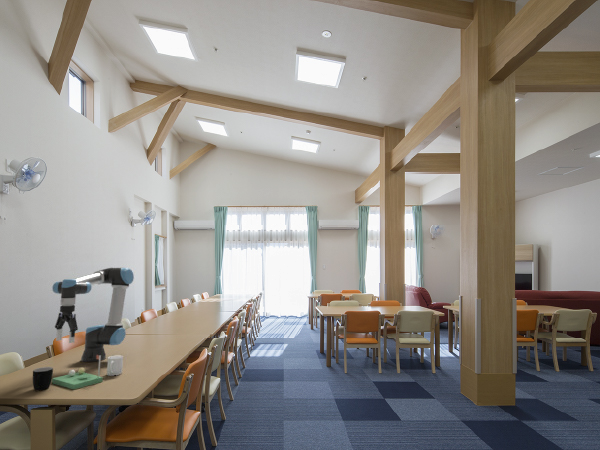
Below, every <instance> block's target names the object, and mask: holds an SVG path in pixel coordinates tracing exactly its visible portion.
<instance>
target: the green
mask: <svg viewBox="0 0 600 450" xmlns="http://www.w3.org/2000/svg"><path fill="white" fill-rule="evenodd" d="M100 357H101V356H98V355H97V358H96V359H99V361H98V371H97V373H98V374H97V375H96V374H91V373H88V372H84V373H83V374H79V373H78V371H77V372H75V375H74V376H69V374H66V375H61V376H57V377H52V380H51V384H54V385H57V386H61V387H64V388H68V389H69V390H70V389H71V390H73V391H74V390H77V389H81V388H84V387H87V386H92V385H95V384H99V383H103V380H104V379H103V378H104V377H103V376H100V373H101V360H100Z"/></svg>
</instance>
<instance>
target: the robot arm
mask: <svg viewBox="0 0 600 450" xmlns="http://www.w3.org/2000/svg"><path fill="white" fill-rule="evenodd" d="M134 276H135V275H134V272H133V271H132V269H130V268H129V267H107V268H104V269H99V270H97V271H94V272H93V273H91V274H88V275H84V276H79V277H76V278H71V279H70V278H68V279H67V278H66V279H63V280H62V281H61V280H60V281H56V282H54V283H53V285H52V291H53V293H55V294H57V295H60V306H59V307H60V308H59V312H58V316H57V320H56V322H55V325H54V328H55V329H56V338H55V339H56V342H57V341H62V340H63V327H64V325H65V323H67V324H68V327H69V335H68V336H69V338H68V344H71V343H73V344H74V343H75V339H76V331H78V330H79V328H78V323H77V319H76V318H77V317H76V315H77V314H76V313H73V312H75V310H76V297H77V295H86V294H89V293H90V292H91V290H92V288H93V287H92V286H95V285H101V284H105V285H106V284H110V285H111V288H112V293H111V301H110V307H109V312H108V318H107V319H108V320H107V323H105V324H99V325H94V326H88V327H87V328H86V329H85V334H84V335H85V336H84V337H85V338H84V350H83V352H82V355H81V358H80V361H81V362H83V363H92V362H93V363H94V362H99V359H96V358H97V355H98V356H101V357H100V361H103V360H106V357H107V356H106V352H105V349H104V346H105V345H106V346H119V345H120V344H122V343H123V342H124V340H125V338H126V328H124V325H123V324H122V318H123V313H124V305H125V298H126V292H127V289H128V288H129V286H130V285H131V284H133V282H134V279H135V277H134Z"/></svg>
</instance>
